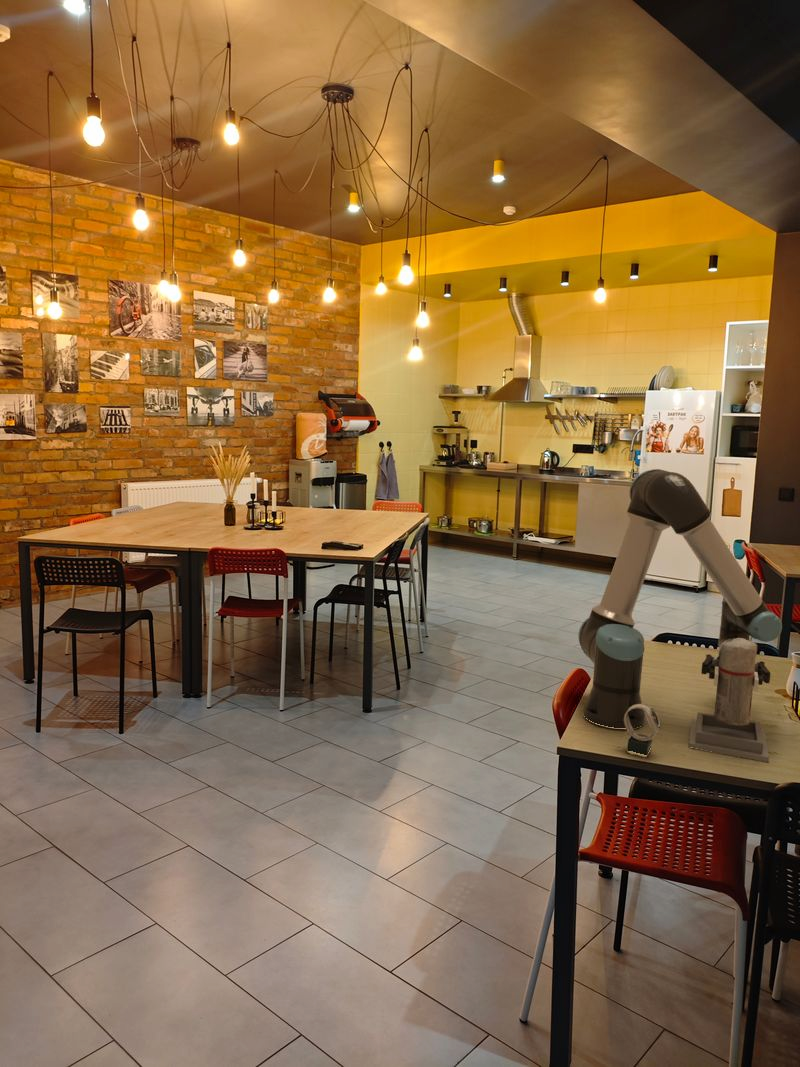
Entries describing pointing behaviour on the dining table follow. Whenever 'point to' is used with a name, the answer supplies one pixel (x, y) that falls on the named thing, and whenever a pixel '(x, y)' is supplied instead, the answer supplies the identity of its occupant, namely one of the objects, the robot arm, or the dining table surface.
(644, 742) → the watch
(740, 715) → the beige textured cylinder
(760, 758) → the holder dock
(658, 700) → the dining table surface
